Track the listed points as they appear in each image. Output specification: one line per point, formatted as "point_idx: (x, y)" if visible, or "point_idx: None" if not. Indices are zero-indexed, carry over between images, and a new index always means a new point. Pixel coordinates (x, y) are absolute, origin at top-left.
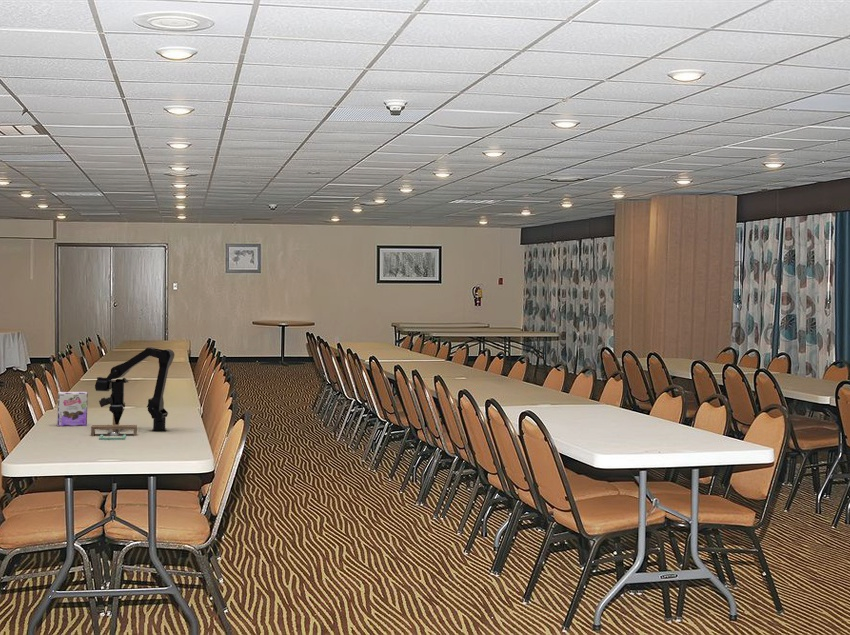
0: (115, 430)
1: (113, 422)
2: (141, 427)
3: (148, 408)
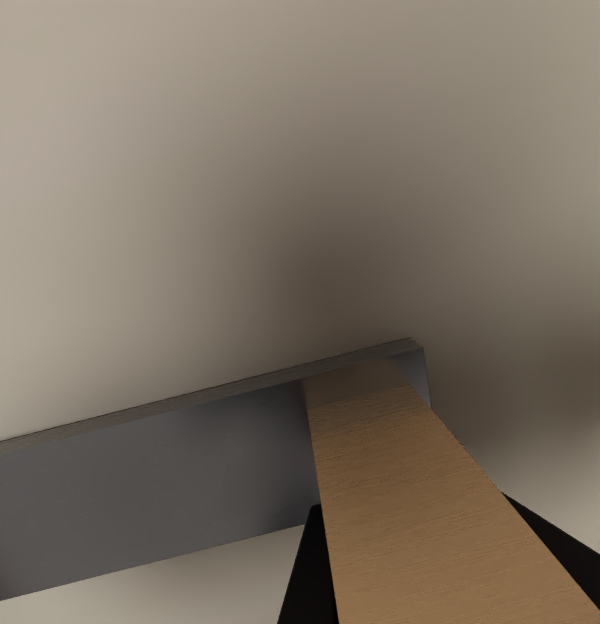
0: (2, 549)
1: (323, 495)
2: None
3: None
